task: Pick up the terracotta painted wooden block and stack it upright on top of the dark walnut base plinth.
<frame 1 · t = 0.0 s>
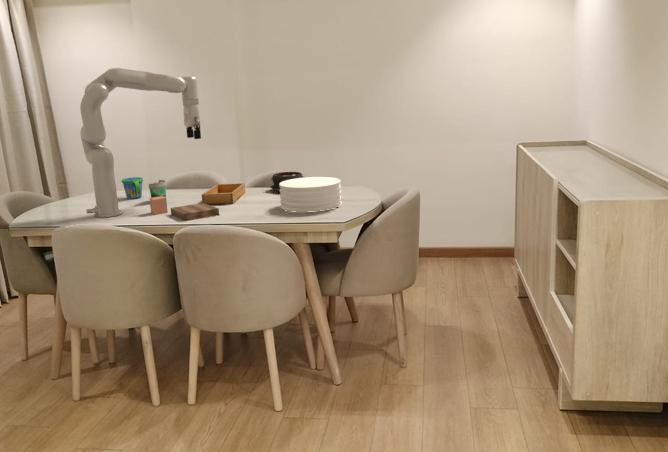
hand: (194, 138, 338), 31 cm above the table, fingers open, 9 cm apart
snack cup: (134, 198, 363), on the table
casserole: (288, 190, 365), on the table
walnut base: (195, 214, 313), on the table
plate stack: (311, 207, 319), on the table
terracotta block: (159, 212, 322), on the table
food container: (161, 201, 349), on the table
tray: (225, 199, 349), on the table
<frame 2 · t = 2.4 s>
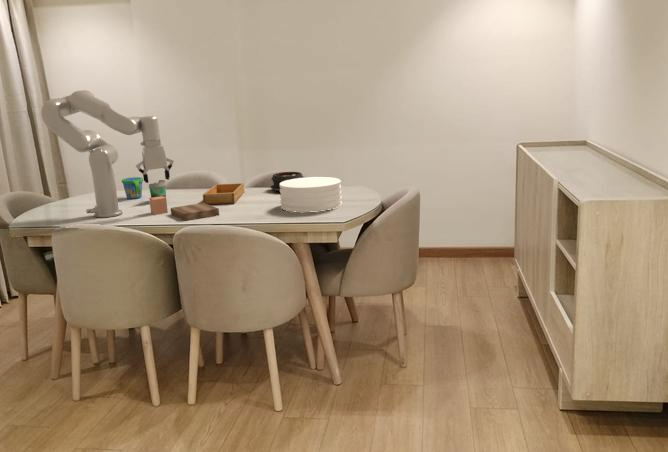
hand: (157, 180, 318), 15 cm above the table, fingers open, 9 cm apart
nothing on the table moved.
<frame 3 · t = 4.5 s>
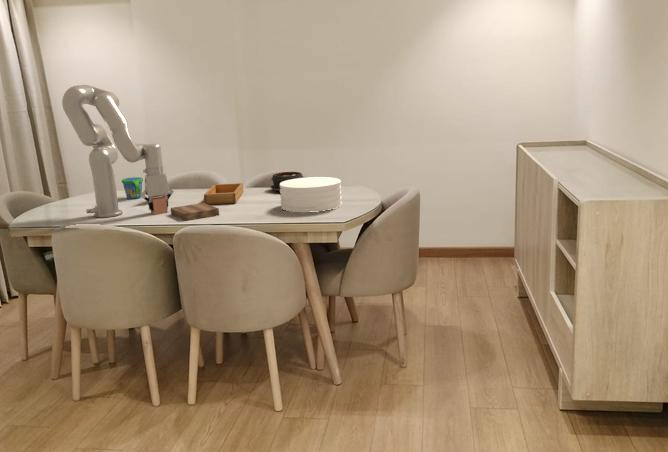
hand: (158, 209, 321), 2 cm above the table, fingers closed on terracotta block, 6 cm apart
terracotta block: (159, 212, 322), on the table, touching gripper
everything else where it was.
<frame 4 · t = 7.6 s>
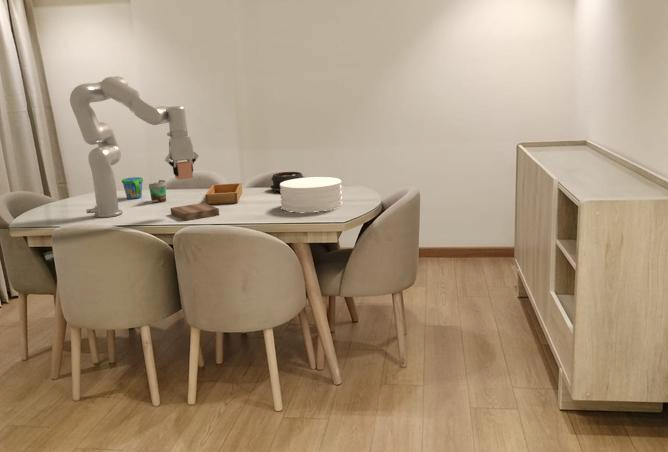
hand: (183, 174, 311), 18 cm above the table, fingers closed on terracotta block, 6 cm apart
terracotta block: (184, 177, 311), point 17 cm above the table, touching gripper
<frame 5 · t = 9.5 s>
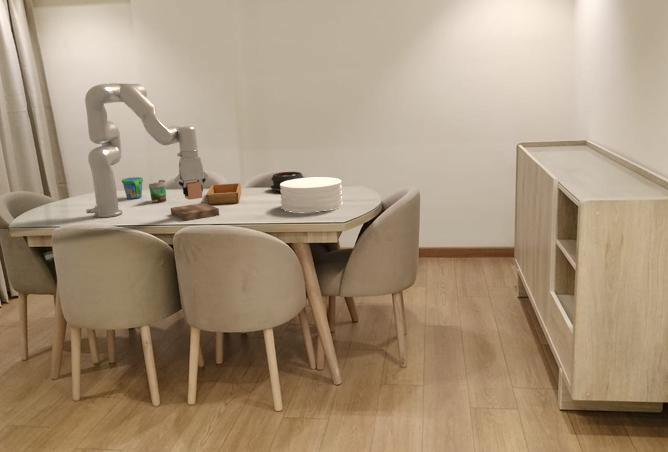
hand: (193, 194, 311), 9 cm above the table, fingers closed on terracotta block, 6 cm apart
terracotta block: (193, 197, 311), point 8 cm above the table, touching gripper
when the fingers open (6 cm above the table, at t = 11.0 s): terracotta block drops 1 cm, resting on walnut base.
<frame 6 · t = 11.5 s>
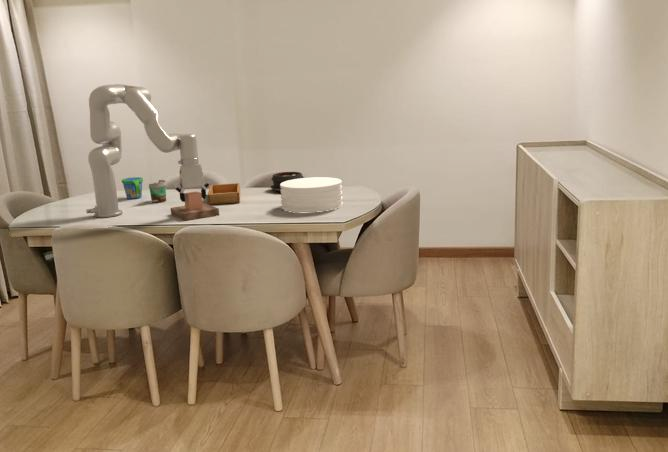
hand: (193, 199, 311), 7 cm above the table, fingers open, 9 cm apart
terracotta block: (194, 208, 312), point 3 cm above the table, touching walnut base
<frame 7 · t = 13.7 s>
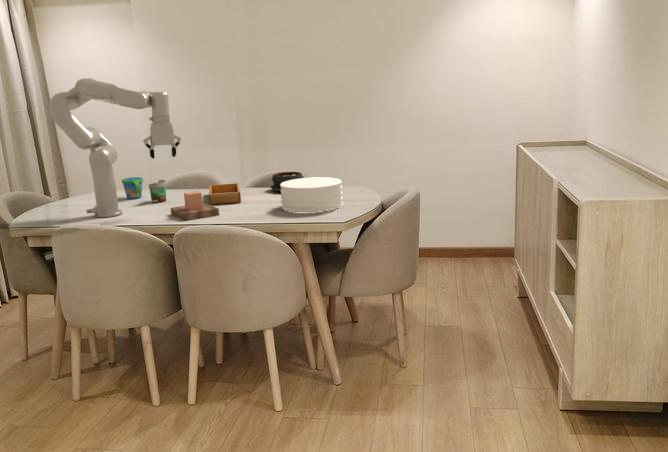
hand: (163, 157, 317), 25 cm above the table, fingers open, 9 cm apart
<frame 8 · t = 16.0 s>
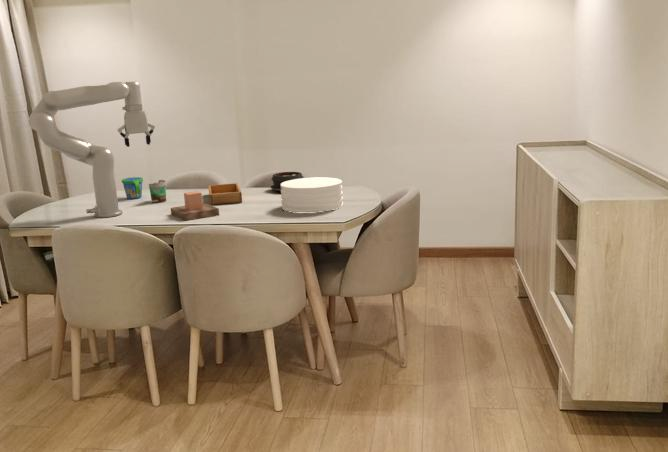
hand: (138, 145, 326), 30 cm above the table, fingers open, 9 cm apart
at the end: terracotta block inside the target area on the walnut base (0.1 cm from its centre), point 3.0 cm above the walnut base's base; terracotta block tilted 0°; the gripper is holding nothing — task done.
